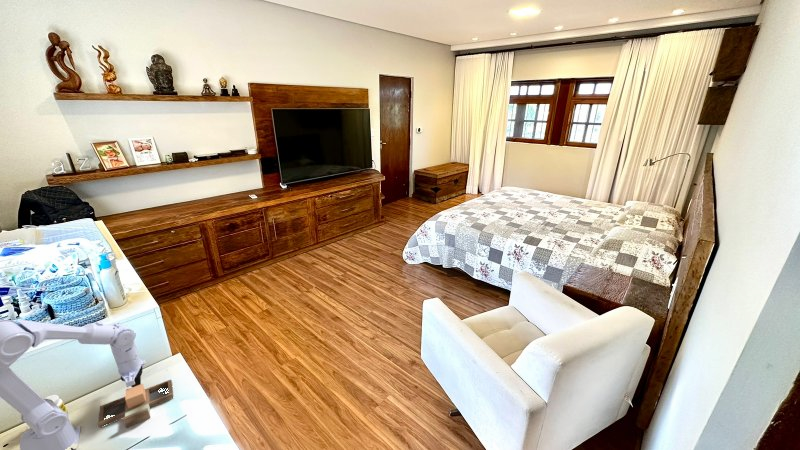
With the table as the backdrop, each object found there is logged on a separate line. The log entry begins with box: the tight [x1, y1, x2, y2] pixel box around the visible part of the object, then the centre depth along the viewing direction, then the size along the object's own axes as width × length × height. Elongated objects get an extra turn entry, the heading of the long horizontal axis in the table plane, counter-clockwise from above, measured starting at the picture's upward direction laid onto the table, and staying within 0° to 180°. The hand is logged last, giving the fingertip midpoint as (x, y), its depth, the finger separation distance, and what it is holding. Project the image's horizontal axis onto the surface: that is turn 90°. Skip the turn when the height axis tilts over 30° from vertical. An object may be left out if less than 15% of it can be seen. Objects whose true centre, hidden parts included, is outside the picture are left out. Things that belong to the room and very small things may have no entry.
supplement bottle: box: [44, 394, 69, 415], centre depth 96 cm, size 5×5×8 cm
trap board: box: [97, 379, 174, 428], centre depth 102 cm, size 19×11×4 cm, turn 127°
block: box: [124, 383, 146, 408], centre depth 103 cm, size 4×4×4 cm
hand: (136, 385), depth 107 cm, fingers closed
